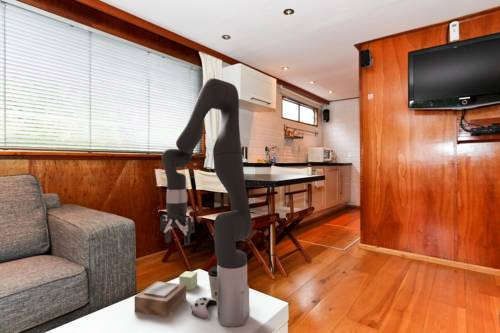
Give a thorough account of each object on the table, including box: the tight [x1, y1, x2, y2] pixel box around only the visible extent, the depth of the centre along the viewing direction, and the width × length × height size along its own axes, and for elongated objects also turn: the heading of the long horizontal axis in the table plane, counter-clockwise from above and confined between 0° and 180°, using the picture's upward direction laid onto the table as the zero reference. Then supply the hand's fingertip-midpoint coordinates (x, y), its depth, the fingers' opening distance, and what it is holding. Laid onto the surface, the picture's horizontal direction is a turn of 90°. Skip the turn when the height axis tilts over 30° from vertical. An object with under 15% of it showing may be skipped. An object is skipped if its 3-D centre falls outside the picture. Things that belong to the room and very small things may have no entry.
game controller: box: [190, 297, 217, 319], centre depth 90 cm, size 10×5×6 cm
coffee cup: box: [207, 265, 217, 300], centre depth 99 cm, size 7×7×10 cm
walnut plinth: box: [134, 280, 187, 318], centre depth 93 cm, size 12×12×6 cm
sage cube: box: [178, 270, 198, 291], centre depth 107 cm, size 5×5×5 cm
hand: (177, 243), depth 105 cm, fingers open, 8 cm apart
